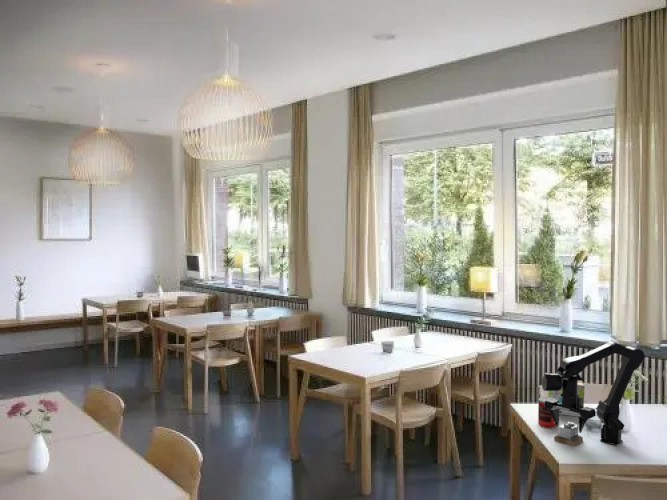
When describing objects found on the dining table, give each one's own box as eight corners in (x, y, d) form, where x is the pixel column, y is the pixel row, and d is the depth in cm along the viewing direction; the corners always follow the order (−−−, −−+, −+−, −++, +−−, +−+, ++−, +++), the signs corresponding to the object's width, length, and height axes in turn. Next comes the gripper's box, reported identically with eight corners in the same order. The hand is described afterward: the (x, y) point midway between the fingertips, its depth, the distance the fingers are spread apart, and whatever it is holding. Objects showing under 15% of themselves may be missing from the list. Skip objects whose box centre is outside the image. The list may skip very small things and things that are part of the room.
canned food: (554, 421, 251) (554, 397, 250) (559, 428, 243) (559, 402, 243) (536, 421, 252) (536, 396, 251) (540, 427, 244) (541, 401, 243)
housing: (578, 435, 229) (578, 422, 229) (570, 439, 224) (570, 426, 224) (567, 432, 232) (567, 420, 232) (559, 436, 228) (559, 424, 227)
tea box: (548, 414, 261) (549, 382, 261) (546, 407, 271) (547, 376, 271) (583, 417, 257) (584, 385, 257) (581, 410, 267) (581, 379, 266)
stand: (582, 441, 228) (582, 436, 228) (573, 446, 223) (574, 441, 223) (563, 435, 234) (563, 430, 234) (554, 440, 229) (554, 435, 229)
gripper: (601, 392, 226) (600, 431, 227) (556, 382, 240) (555, 419, 241) (590, 397, 219) (589, 437, 219) (543, 387, 232) (542, 425, 233)
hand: (568, 429), depth 228 cm, fingers open, 9 cm apart
